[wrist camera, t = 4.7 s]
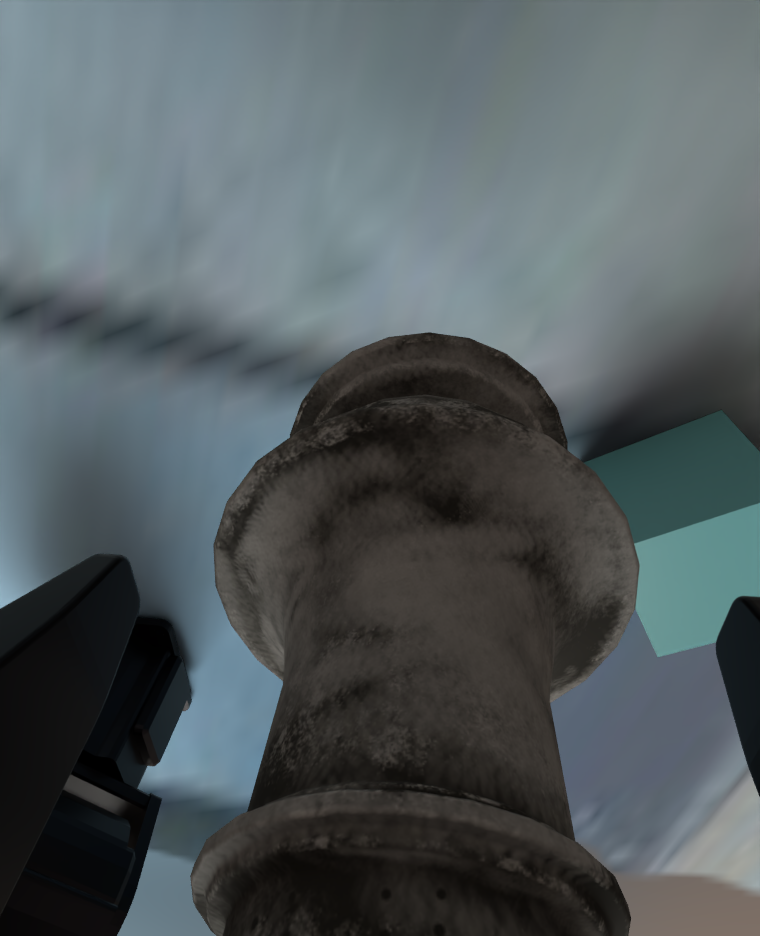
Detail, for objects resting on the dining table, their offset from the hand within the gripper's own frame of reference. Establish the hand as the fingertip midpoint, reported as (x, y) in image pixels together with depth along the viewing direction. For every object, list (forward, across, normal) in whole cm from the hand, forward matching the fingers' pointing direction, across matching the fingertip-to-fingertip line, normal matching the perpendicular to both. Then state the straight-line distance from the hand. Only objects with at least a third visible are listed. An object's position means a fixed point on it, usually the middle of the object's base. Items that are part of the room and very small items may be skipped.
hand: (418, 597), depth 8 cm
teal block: (+13, -9, +6) cm, 17 cm away
